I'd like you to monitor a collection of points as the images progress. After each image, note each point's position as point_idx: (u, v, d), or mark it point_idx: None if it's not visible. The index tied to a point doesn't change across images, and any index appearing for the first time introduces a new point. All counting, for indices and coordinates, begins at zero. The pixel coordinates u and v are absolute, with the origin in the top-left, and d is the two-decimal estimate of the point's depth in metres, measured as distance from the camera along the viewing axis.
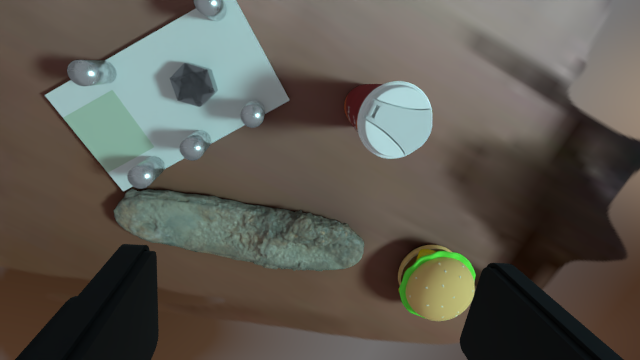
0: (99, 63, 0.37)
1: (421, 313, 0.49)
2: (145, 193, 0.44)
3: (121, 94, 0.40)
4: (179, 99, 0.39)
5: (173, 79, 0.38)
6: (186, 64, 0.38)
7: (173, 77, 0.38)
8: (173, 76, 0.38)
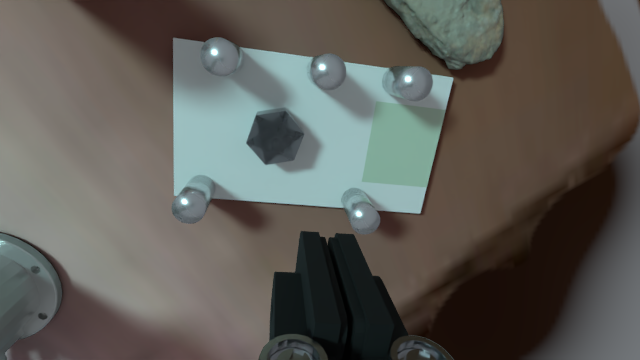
0: (346, 213, 0.32)
1: None
2: (440, 52, 0.30)
3: (357, 172, 0.33)
4: (301, 133, 0.29)
5: (291, 157, 0.30)
6: (265, 162, 0.29)
7: (289, 158, 0.30)
8: (288, 159, 0.30)
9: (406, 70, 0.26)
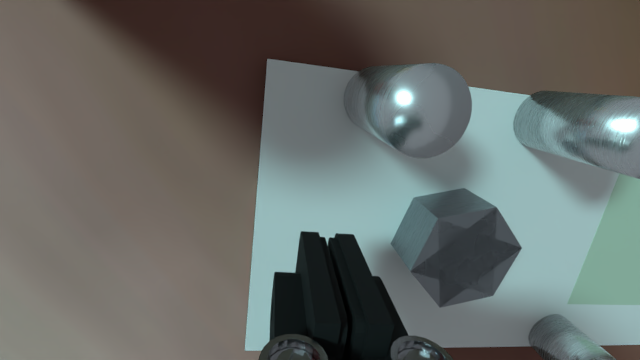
0: None
1: None
2: None
3: (563, 289, 0.19)
4: (516, 248, 0.14)
5: (489, 290, 0.15)
6: (440, 302, 0.15)
7: (484, 293, 0.15)
8: (483, 295, 0.15)
9: None
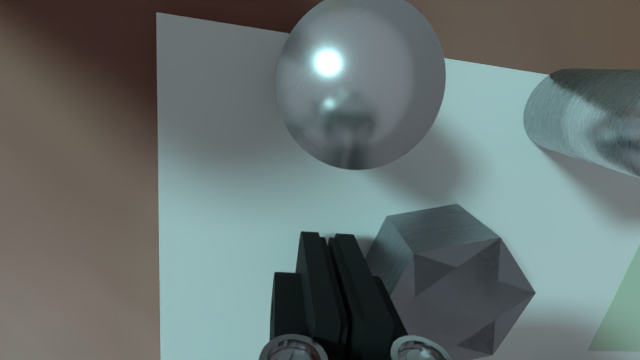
0: None
1: None
2: None
3: (583, 333, 0.15)
4: (528, 293, 0.10)
5: (487, 348, 0.11)
6: None
7: (481, 352, 0.11)
8: (478, 354, 0.11)
9: None
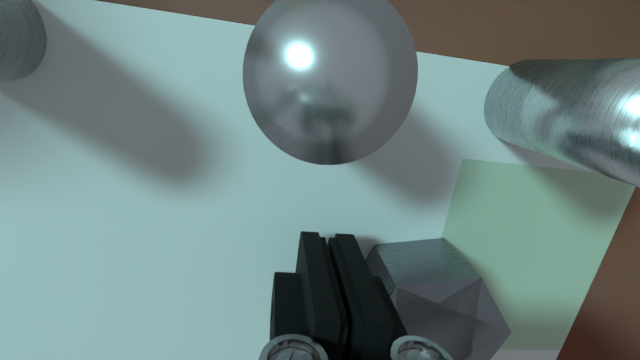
0: None
1: None
2: None
3: None
4: (504, 332, 0.11)
5: None
6: None
7: None
8: None
9: None
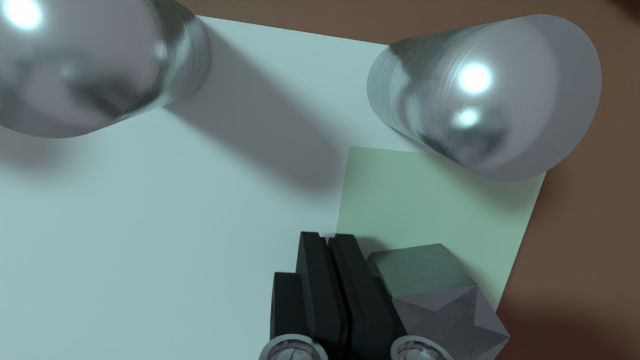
0: None
1: None
2: None
3: None
4: (503, 337, 0.11)
5: None
6: None
7: None
8: None
9: (474, 36, 0.05)
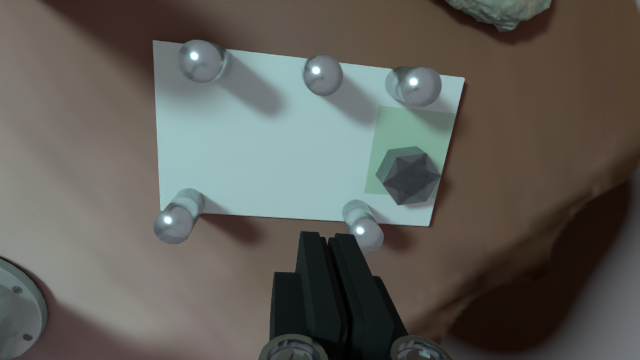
0: (347, 229, 0.29)
1: None
2: (488, 18, 0.26)
3: (359, 183, 0.31)
4: (438, 175, 0.28)
5: (424, 198, 0.29)
6: (398, 202, 0.29)
7: (421, 199, 0.29)
8: (421, 200, 0.29)
9: (411, 72, 0.23)
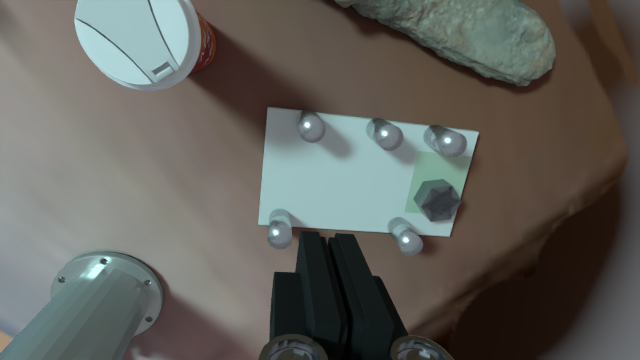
0: (394, 238, 0.40)
1: None
2: (509, 80, 0.38)
3: (401, 205, 0.42)
4: (459, 201, 0.40)
5: (449, 217, 0.41)
6: (430, 220, 0.40)
7: (447, 218, 0.41)
8: (447, 218, 0.41)
9: (447, 135, 0.35)
